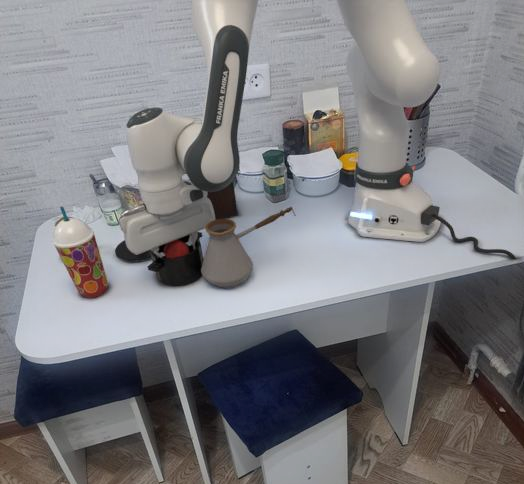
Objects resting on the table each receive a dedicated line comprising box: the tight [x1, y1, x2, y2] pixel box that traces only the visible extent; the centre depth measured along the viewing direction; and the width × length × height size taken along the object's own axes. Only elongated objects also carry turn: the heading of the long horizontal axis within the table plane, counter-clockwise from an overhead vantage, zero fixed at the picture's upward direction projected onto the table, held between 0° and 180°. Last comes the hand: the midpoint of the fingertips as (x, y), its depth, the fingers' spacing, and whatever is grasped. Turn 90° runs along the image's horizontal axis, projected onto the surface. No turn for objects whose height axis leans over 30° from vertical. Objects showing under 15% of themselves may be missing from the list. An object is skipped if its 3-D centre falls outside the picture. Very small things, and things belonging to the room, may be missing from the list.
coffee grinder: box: [207, 181, 239, 220], centre depth 124 cm, size 16×11×18 cm
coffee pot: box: [201, 206, 296, 289], centre depth 100 cm, size 21×12×15 cm, turn 96°
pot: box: [147, 231, 204, 288], centre depth 106 cm, size 11×17×7 cm
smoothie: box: [51, 206, 109, 299], centre depth 99 cm, size 8×8×20 cm
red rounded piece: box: [164, 239, 190, 258], centre depth 105 cm, size 6×6×8 cm
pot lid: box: [114, 239, 152, 262], centre depth 116 cm, size 12×12×5 cm
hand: (177, 255), depth 105 cm, fingers closed on red rounded piece, 6 cm apart
